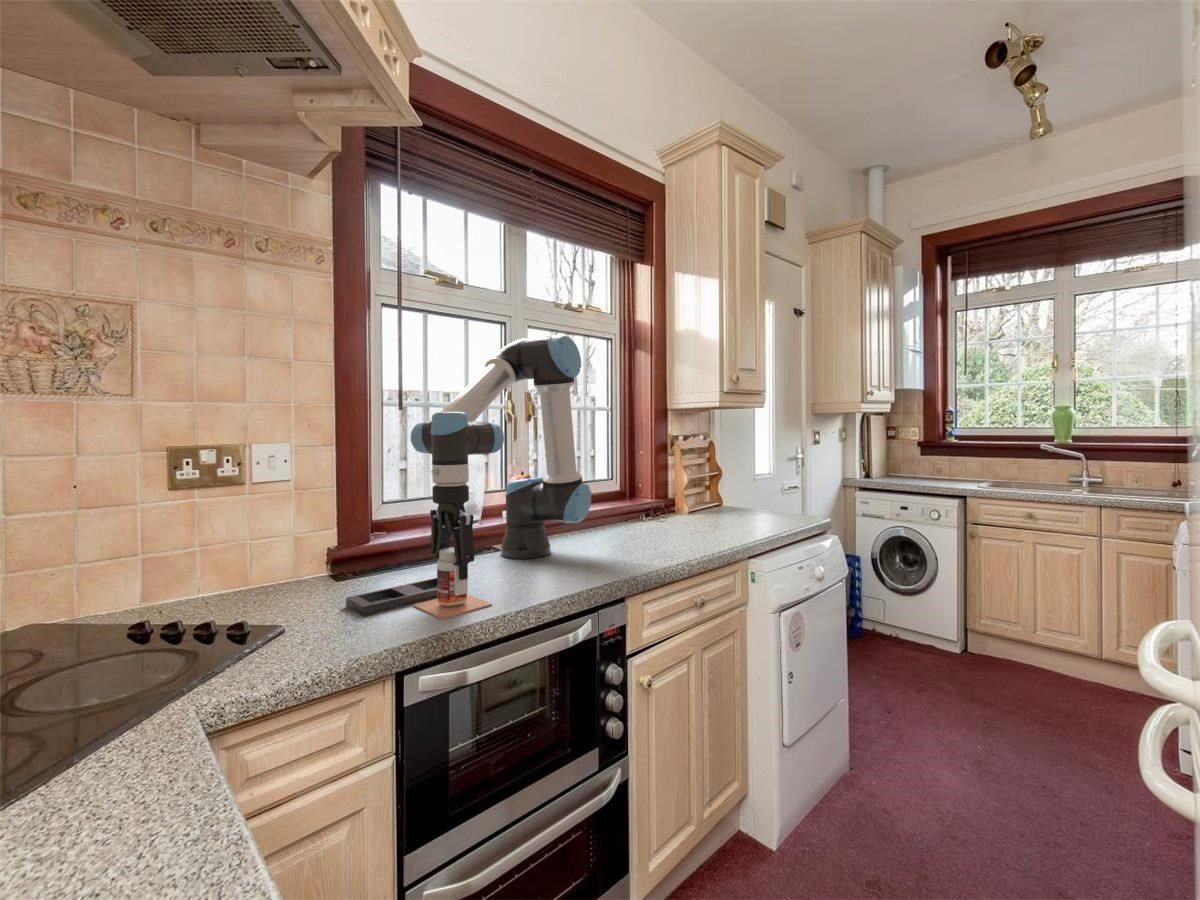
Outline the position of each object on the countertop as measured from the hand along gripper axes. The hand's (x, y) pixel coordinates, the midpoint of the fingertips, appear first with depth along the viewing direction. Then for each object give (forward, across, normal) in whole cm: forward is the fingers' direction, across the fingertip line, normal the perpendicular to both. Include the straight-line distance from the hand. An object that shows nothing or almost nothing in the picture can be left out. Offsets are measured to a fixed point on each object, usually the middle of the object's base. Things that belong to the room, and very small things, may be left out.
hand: (452, 590), depth 117 cm
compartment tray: (+3, -12, -4) cm, 13 cm away
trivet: (+3, 0, 0) cm, 3 cm away
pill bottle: (+3, 0, 0) cm, 3 cm away
